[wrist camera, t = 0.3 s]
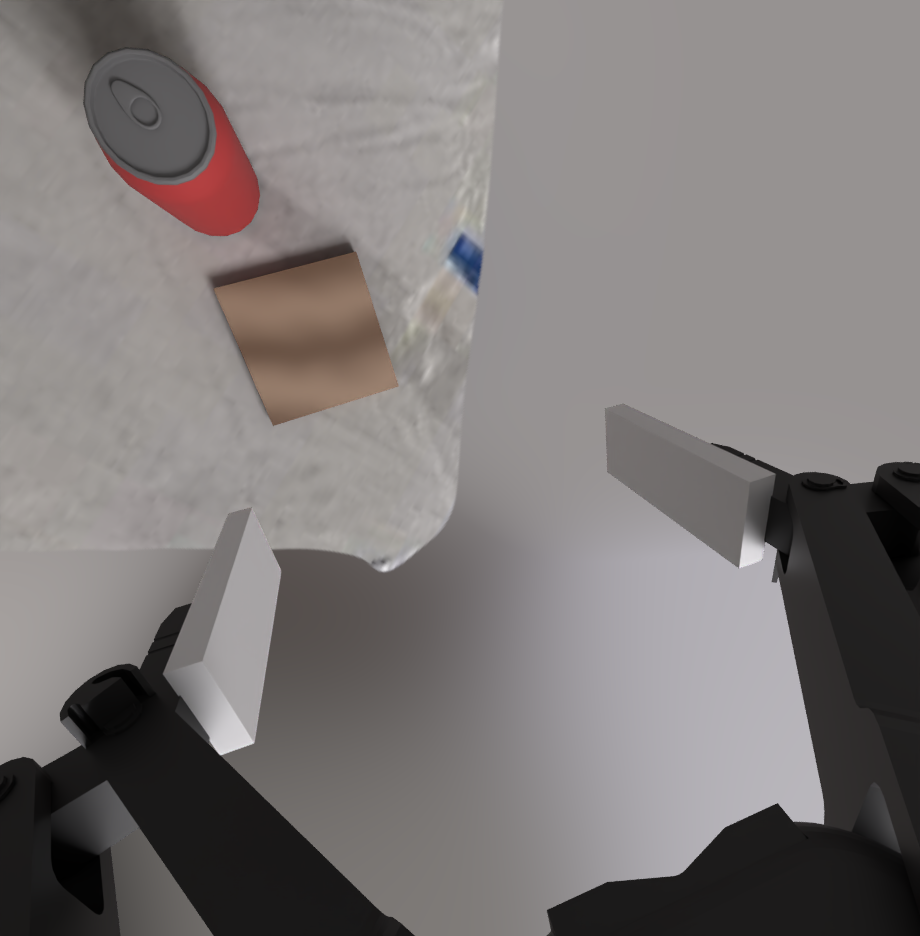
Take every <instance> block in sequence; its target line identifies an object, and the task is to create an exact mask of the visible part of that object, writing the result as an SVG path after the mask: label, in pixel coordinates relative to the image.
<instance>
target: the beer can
mask: <svg viewBox="0 0 920 936" xmlns="http://www.w3.org/2000/svg"><path fill="white" fill-rule="evenodd" d="M83 104H84V108H85V112H86V116H87V120H88V124H89V127H90V129H91V131H92V132H93V134H94V136H95V139H96V140H97V142H98V144H99V146H100V148H101V149H102V151H103V153H104V155H105V156H106V158H107V160H108V162H109V163H110V165H111V167H112V168H113V169H114V170H115V171H116V172H117V173H118V174H119V175H120V176H121V177H122V178H123V180H124V181H125V182H126V183H127V184H128V185H129V186H131V187H132V188H134V189H135V190H136V191H138V192H139V193H141V194H142V195H144V196H145V197H147V198H148V199H150V200H151V201H152V202H154V203H155V204H157V205H158V206H160V207H161V208H163V209H164V210H165V211H167V212H168V213H170V214H171V215H173V216H174V217H176V218H177V219H178V220H180V221H181V222H183V223H184V224H186V225H188V226H189V227H191V228H192V229H194V230H195V231H198V232H201V233H204V234H207V235H211V236H228V235H231V234H234V233H237V232H239V231H241V230H242V229H243V228H245V227H246V226H247V225H248V224H249V223H251V221H252V219H253V217H254V215H255V214H256V212H257V210H258V203H259V197H260V193H259V187H258V180H257V177H256V175H255V173H254V170H253V168H252V166H251V164H250V162H249V160H248V158H247V156H246V154H245V152H244V150H243V148H242V146H241V144H240V142H239V140H238V138H237V136H236V134H235V132H234V130H233V128H232V126H231V124H230V122H229V119H228V117H227V115H226V113H225V111H224V109H223V107H222V106H221V105H220V103H219V102H218V101H217V100H216V98H215V97H214V96H213V94H212V93H211V92H210V91H209V89H208V88H207V87H206V86H205V85H204V84H202V83H201V82H200V81H199V80H197V79H196V78H195V77H194V76H192V75H191V74H190V73H188V72H187V71H186V70H184V69H183V68H182V67H180V66H178V65H177V64H176V63H175V62H173V61H172V60H171V59H169V58H167V57H165V56H162V55H160V54H158V53H155V52H153V51H150V50H148V49H138V48H128V47H126V48H123V49H119V50H115V51H112V52H108V53H107V54H105V55H104V56H103V57H102V58H101V59H100V60H98V61H97V62H96V63H95V64H94V65H93V66H92V68H91V70H90V73H89V75H88V77H87V79H86V81H85V86H84V102H83Z"/></svg>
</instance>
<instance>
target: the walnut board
mask: <svg viewBox="0 0 920 936" xmlns="http://www.w3.org/2000/svg"><path fill="white" fill-rule="evenodd" d="M214 291H215V293H216V296H217V298H218V300H219V303H220V305H221V307H222V309H223V312H224V314H225V316H226V319H227V321H228V323H229V325H230V328H231V330H232V332H233V335H234V337H235V339H236V342H237V344H238V346H239V348H240V351H241V353H242V355H243V358H244V360H245V362H246V364H247V367H248V369H249V371H250V374H251V376H252V378H253V381H254V383H255V385H256V387H257V390H258V392H259V394H260V397H261V399H262V401H263V403H264V406H265V408H266V410H267V413H268V415H269V417H270V420H271V422H272V424H273V426H274V425H277V424H280V423H284V422H287V421H290V420H293V419H296V418H299V417H303V416H306V415H309V414H312V413H315V412H319V411H322V410H325V409H328V408H331V407H334V406H338V405H341V404H344V403H347V402H350V401H353V400H357V399H360V398H363V397H366V396H369V395H372V394H376V393H379V392H382V391H385V390H388V389H391V388H395V387H398V383H397V380H396V376H395V373H394V370H393V367H392V364H391V361H390V357H389V354H388V351H387V348H386V345H385V342H384V338H383V335H382V332H381V329H380V326H379V323H378V319H377V316H376V313H375V310H374V307H373V304H372V301H371V297H370V294H369V291H368V288H367V285H366V282H365V278H364V275H363V272H362V269H361V266H360V263H359V259H358V256H357V253H356V252H352V253H349V254H345V255H341V256H337V257H333V258H329V259H326V260H322V261H318V262H314V263H310V264H306V265H302V266H299V267H295V268H291V269H287V270H283V271H279V272H275V273H272V274H268V275H264V276H260V277H256V278H252V279H248V280H245V281H241V282H237V283H233V284H229V285H225V286H222V287H218V288H214Z"/></svg>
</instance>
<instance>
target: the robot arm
mask: <svg viewBox="0 0 920 936" xmlns="http://www.w3.org/2000/svg"><path fill="white" fill-rule="evenodd" d="M605 418H606V446H607V472H608V473H610V474H611V475H612V476H614V477H615V478H616V479H618V480H619V481H620V482H622V483H623V484H624V485H626V486H627V487H628V488H630V489H631V490H633V491H634V492H635V493H637V494H638V495H640V496H641V497H642V498H644V499H645V500H646V501H648V502H649V503H650V504H652V505H653V506H654V507H656V508H657V509H659V510H660V511H661V512H663V513H664V514H666V515H667V516H668V517H669V518H671V519H673V520H674V521H675V522H676V523H678V524H679V525H680V526H682V527H683V528H684V529H686V530H687V531H689V532H690V533H691V534H693V535H694V536H696V537H697V538H698V539H699V540H701V541H702V542H704V543H705V544H706V545H708V546H709V547H710V548H712V549H713V550H715V551H716V552H717V553H719V554H720V555H721V556H723V557H724V558H725V559H727V560H728V561H730V562H731V563H732V564H734V565H735V566H736V567H738V568H742V567H745V566H747V565H750V564H753V563H755V562H758V561H761V560H763V553H764V546H765V542H767V543H769V544H770V545H772V546H773V547H775V548H776V549H777V555H776V560H775V566H774V572H773V578H772V582H777V579H778V577H779V581H780V585H781V590H782V595H783V600H784V605H785V610H786V615H787V620H788V625H789V629H790V635H791V640H792V644H793V649H794V655H795V659H796V665H797V669H798V674H799V679H800V684H801V689H802V693H803V699H804V704H805V709H806V714H807V719H808V724H809V729H810V734H811V738H812V743H813V749H814V753H815V758H816V763H817V768H818V773H819V778H820V783H821V787H822V793H823V799H824V810H825V812H824V814H825V815H824V825H822V824H817V823H808V822H793V821H792V820H791V819H790V818H789V816H788V815H787V814H786V813H785V812H784V810H783V809H782V808H781V807H780V806H779V804H778V803H777V804H775V805H773V806H771V807H768V808H766V809H764V810H762V811H760V812H758V813H756V814H753V815H751V816H749V817H747V818H745V819H743V820H740V821H738V822H736V823H734V824H732V825H730V826H727V827H725V828H724V829H723V830H722V831H721V832H720V834H718V836H717V837H716V838H715V839H714V840H713V841H712V842H711V843H710V844H709V845H708V846H707V847H706V849H704V850H703V852H702V853H701V854H700V855H699V856H698V857H697V858H696V859H695V860H694V861H693V862H692V863H691V864H690V866H689V867H688V868H687V869H686V870H685V871H684V872H683V873H681V874H680V875H677V876H671V877H660V878H649V879H637V880H627V881H615V882H607V883H604V884H603V885H600V886H598V887H596V888H594V889H591V890H589V891H587V892H585V893H583V894H581V895H579V896H576V897H574V898H572V899H570V900H568V901H566V902H563V903H562V904H559V905H557V906H555V907H553V908H551V909H548V910H547V913H548V918H549V922H550V927H551V932H550V933H549V934H548V935H547V936H920V463H912V462H893V463H886V464H883V465H881V466H879V467H878V468H877V471H876V474H875V478H874V482H866V483H857V484H850V483H849V482H848V481H846V480H844V479H842V478H840V477H838V476H834V475H830V474H826V473H817V472H806V473H800V474H796V475H794V476H793V475H791V474H789V473H787V472H784V471H782V470H780V469H778V468H775V467H773V466H771V465H769V464H767V463H764V462H762V461H760V460H755V458H753V457H751V456H749V455H744V453H742V452H739V451H737V450H735V449H733V448H731V447H727V446H722V445H718V444H713V443H711V444H710V443H707V442H705V441H703V440H701V439H699V438H697V437H694V436H692V435H690V434H688V433H685V432H684V431H681V430H679V429H677V428H675V427H673V426H671V425H668V424H666V423H664V422H662V421H660V420H657V419H655V418H653V417H651V416H649V415H646V414H644V413H642V412H640V411H638V410H636V409H634V408H631V407H629V406H627V405H625V404H620V405H616V406H613V407H609V408H606V409H605ZM280 577H281V569H280V567H279V565H278V563H277V561H276V558H275V556H274V554H273V552H272V550H271V548H270V545H269V543H268V541H267V539H266V537H265V534H264V532H263V530H262V528H261V526H260V524H259V521H258V519H257V517H256V515H255V513H254V510H253V508H252V507H251V508H247V509H244V510H240V511H237V512H233V513H230V514H228V516H227V518H226V521H225V523H224V526H223V528H222V531H221V533H220V536H219V538H218V540H217V543H216V545H215V548H214V550H213V553H212V555H211V558H210V560H209V562H208V565H207V567H206V570H205V572H204V575H203V577H202V580H201V582H200V584H199V587H198V589H197V592H196V594H195V597H194V599H193V602H192V603H191V604H188V605H184V606H181V607H178V608H175V609H174V611H173V612H172V613H171V614H170V615H169V616H168V617H167V618H166V619H165V620H164V622H163V623H162V624H161V626H160V628H159V630H158V632H157V634H156V636H155V638H154V642H153V643H152V645H151V647H150V649H149V651H148V655H147V656H146V657H145V660H144V662H143V664H142V666H141V668H140V670H139V669H138V667H137V666H134V665H131V664H124V665H117V666H115V667H112V668H109V669H106V670H104V671H102V672H101V673H99V674H98V675H96V676H94V677H92V678H90V679H89V680H88V681H87V682H85V683H84V684H83V685H82V686H80V687H79V688H78V689H77V690H76V691H75V692H74V693H73V694H72V695H71V696H70V698H69V699H68V700H67V701H66V702H65V704H64V706H63V708H62V710H61V712H60V721H61V723H62V724H63V725H64V726H65V727H66V728H67V729H68V730H69V732H70V733H71V734H72V735H73V736H74V737H75V738H76V739H77V740H78V741H79V742H80V744H81V746H79V747H78V748H76V749H74V750H73V751H71V752H69V753H67V754H65V755H64V756H62V757H60V758H58V759H57V760H55V761H53V762H51V763H49V764H48V765H46V766H44V767H42V768H41V767H40V766H39V765H38V764H37V763H36V762H35V761H34V760H33V759H30V758H26V757H22V758H18V759H14V760H10V761H8V762H6V763H4V764H2V765H0V936H120V928H119V919H118V910H117V901H116V892H115V883H114V875H113V866H112V856H111V846H112V845H114V844H115V843H117V842H118V841H120V840H121V839H123V838H124V837H126V836H127V835H129V834H130V833H132V832H133V831H135V830H136V829H138V828H140V829H141V830H142V832H143V833H144V835H145V836H146V838H147V839H148V841H149V842H150V844H151V845H152V846H153V848H154V850H155V851H156V852H157V854H158V855H159V857H160V858H161V860H162V861H163V863H164V864H165V865H166V867H167V868H168V870H169V871H170V873H171V874H172V876H173V877H174V879H175V880H176V882H177V883H178V884H179V886H180V887H181V889H182V890H183V892H184V893H185V894H186V896H187V898H188V899H189V900H190V902H191V903H192V905H193V906H194V908H195V909H196V911H197V912H198V914H199V915H200V916H201V918H202V919H203V921H204V922H205V924H206V925H207V927H208V928H209V929H210V931H211V932H212V934H213V935H214V936H414V935H413V934H412V933H411V932H410V931H409V930H408V929H406V928H405V927H404V926H403V925H402V924H401V923H400V922H398V921H397V920H396V919H394V918H393V917H388V916H386V915H384V914H383V913H382V912H381V911H379V910H378V909H377V908H376V907H375V906H374V905H373V904H372V903H371V902H370V901H369V900H368V899H367V898H366V897H365V896H364V895H363V894H362V893H361V892H360V891H359V890H358V889H357V888H356V887H355V886H354V885H353V884H352V883H351V882H350V881H349V880H348V879H346V878H345V877H344V876H343V875H342V874H341V873H340V872H339V871H338V870H337V869H336V868H335V867H334V866H333V865H332V864H331V863H330V862H329V861H328V860H327V859H326V858H325V857H324V856H323V855H322V854H321V853H320V852H319V851H318V850H317V849H316V848H315V847H313V845H312V844H311V843H310V842H309V841H308V840H307V839H305V838H304V837H303V836H302V835H301V834H300V833H299V832H298V831H297V830H296V829H295V828H294V827H293V826H292V825H291V824H290V823H289V822H288V821H287V820H286V819H285V818H284V817H283V816H282V815H281V814H280V813H279V812H278V811H277V810H276V809H275V808H274V807H273V806H272V805H271V804H270V803H269V802H268V801H266V800H265V799H264V798H263V797H262V796H261V795H260V794H259V793H258V792H257V791H256V790H255V789H254V788H253V787H252V786H251V785H250V784H249V783H248V782H247V781H246V780H245V779H244V778H243V777H242V776H241V775H240V774H239V773H238V772H237V771H236V770H235V769H233V767H232V766H231V765H230V764H229V763H228V762H227V761H225V760H224V759H223V758H222V757H221V756H220V755H222V754H225V753H228V752H231V751H234V750H236V749H239V748H242V747H245V746H248V745H250V744H253V743H254V742H255V735H256V729H257V723H258V716H259V710H260V704H261V697H262V691H263V685H264V678H265V671H266V666H267V659H268V653H269V646H270V640H271V634H272V627H273V621H274V615H275V607H276V602H277V595H278V589H279V583H280ZM209 740H210V742H211V743H212V745H213V746H214V748H215V749H216V750H217V752H218V753H219V754H218V753H217V752H216V751H215V750H214V749H213V748H212V747H211V746H210V745H209V744H208V743H209Z"/></svg>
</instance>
